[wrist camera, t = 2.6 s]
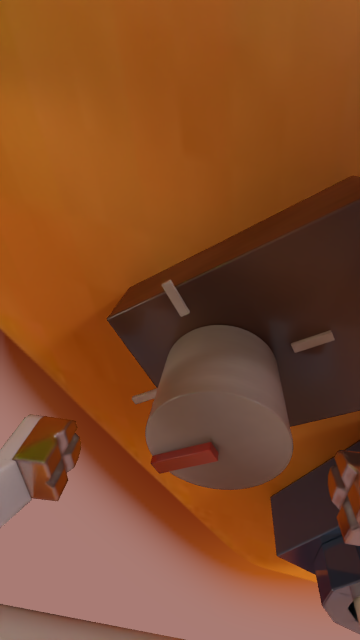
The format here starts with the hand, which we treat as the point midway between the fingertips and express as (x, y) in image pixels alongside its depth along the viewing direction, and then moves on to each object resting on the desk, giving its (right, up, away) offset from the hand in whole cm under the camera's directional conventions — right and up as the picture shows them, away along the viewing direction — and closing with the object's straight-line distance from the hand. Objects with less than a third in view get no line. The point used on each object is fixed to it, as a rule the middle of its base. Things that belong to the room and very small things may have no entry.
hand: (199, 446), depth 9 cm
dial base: (+3, +4, +4) cm, 7 cm away
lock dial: (+1, +2, +3) cm, 3 cm away
